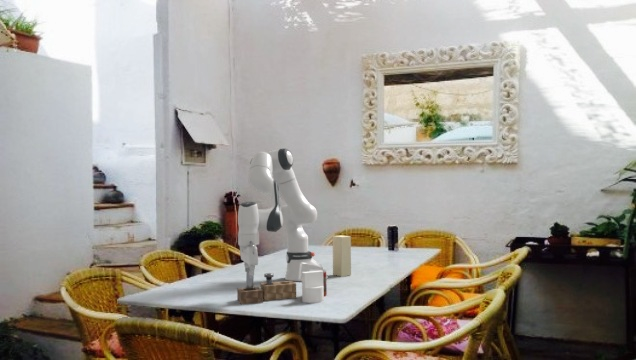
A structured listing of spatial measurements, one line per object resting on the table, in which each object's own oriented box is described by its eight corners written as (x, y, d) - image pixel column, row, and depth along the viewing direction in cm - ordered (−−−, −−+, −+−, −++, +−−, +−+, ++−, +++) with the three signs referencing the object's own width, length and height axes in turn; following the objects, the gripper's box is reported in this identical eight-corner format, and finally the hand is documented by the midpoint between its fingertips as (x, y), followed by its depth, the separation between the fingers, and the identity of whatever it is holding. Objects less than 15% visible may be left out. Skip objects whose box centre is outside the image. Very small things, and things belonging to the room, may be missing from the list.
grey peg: (252, 300, 222) (253, 267, 222) (253, 301, 219) (254, 268, 220) (245, 300, 221) (246, 267, 221) (246, 302, 218) (247, 268, 219)
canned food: (320, 297, 224) (320, 272, 224) (305, 296, 228) (304, 270, 229) (330, 294, 231) (329, 269, 231) (314, 293, 235) (314, 268, 235)
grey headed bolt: (272, 291, 228) (272, 272, 229) (274, 293, 225) (274, 274, 225) (263, 292, 227) (263, 273, 227) (265, 294, 223) (265, 274, 224)
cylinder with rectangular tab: (307, 303, 214) (306, 274, 214) (299, 299, 222) (298, 271, 222) (327, 301, 217) (326, 272, 217) (318, 297, 225) (318, 269, 226)
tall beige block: (352, 275, 280) (351, 236, 281) (341, 276, 276) (340, 237, 276) (343, 273, 287) (342, 235, 287) (332, 275, 283) (332, 236, 283)
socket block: (291, 294, 233) (291, 280, 233) (296, 297, 226) (296, 283, 226) (260, 296, 229) (260, 283, 229) (264, 300, 221) (264, 286, 221)
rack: (258, 298, 226) (258, 286, 226) (262, 302, 217) (262, 290, 217) (237, 300, 223) (237, 288, 223) (241, 304, 214) (240, 292, 215)
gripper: (261, 242, 212) (262, 276, 212) (251, 238, 231) (252, 269, 231) (246, 243, 210) (246, 278, 210) (237, 238, 229) (237, 270, 229)
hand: (249, 273), depth 220 cm, fingers open, 8 cm apart
